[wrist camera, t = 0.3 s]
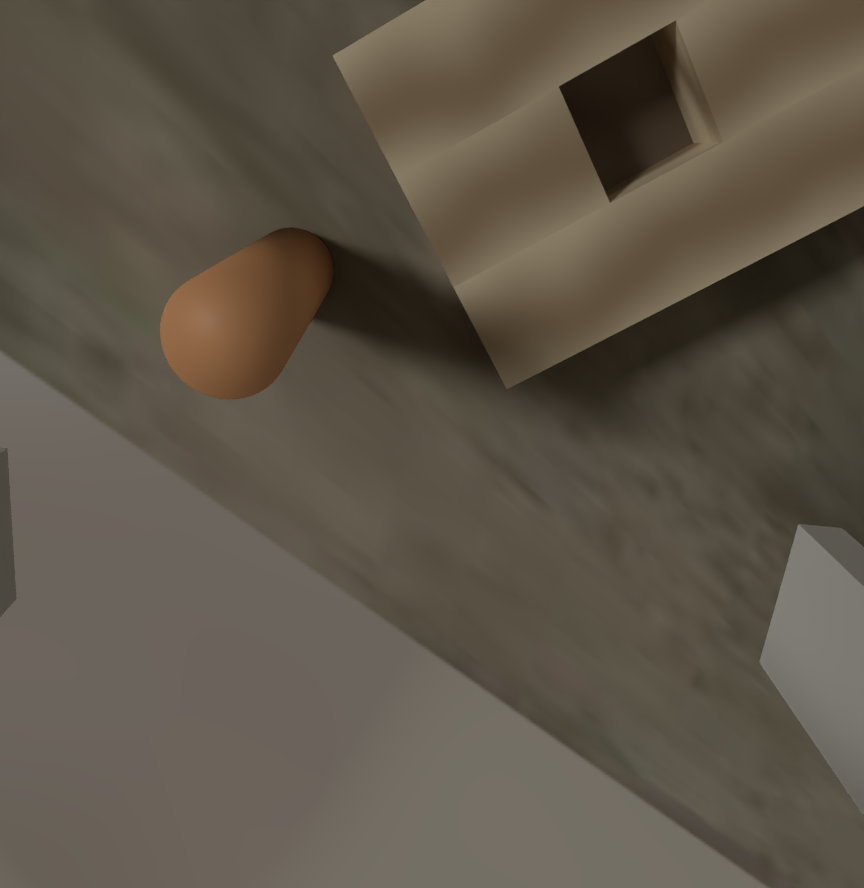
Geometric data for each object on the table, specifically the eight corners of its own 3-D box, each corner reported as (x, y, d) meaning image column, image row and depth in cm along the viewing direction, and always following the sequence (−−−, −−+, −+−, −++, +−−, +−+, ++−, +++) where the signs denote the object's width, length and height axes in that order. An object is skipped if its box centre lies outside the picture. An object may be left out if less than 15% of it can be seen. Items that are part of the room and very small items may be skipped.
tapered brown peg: (235, 252, 36) (134, 311, 23) (307, 212, 36) (245, 248, 22) (279, 324, 37) (206, 420, 24) (348, 286, 37) (313, 362, 23)
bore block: (342, 67, 34) (332, 55, 29) (756, -178, 31) (810, -230, 27) (496, 362, 38) (506, 389, 34) (870, 168, 35) (933, 170, 31)
